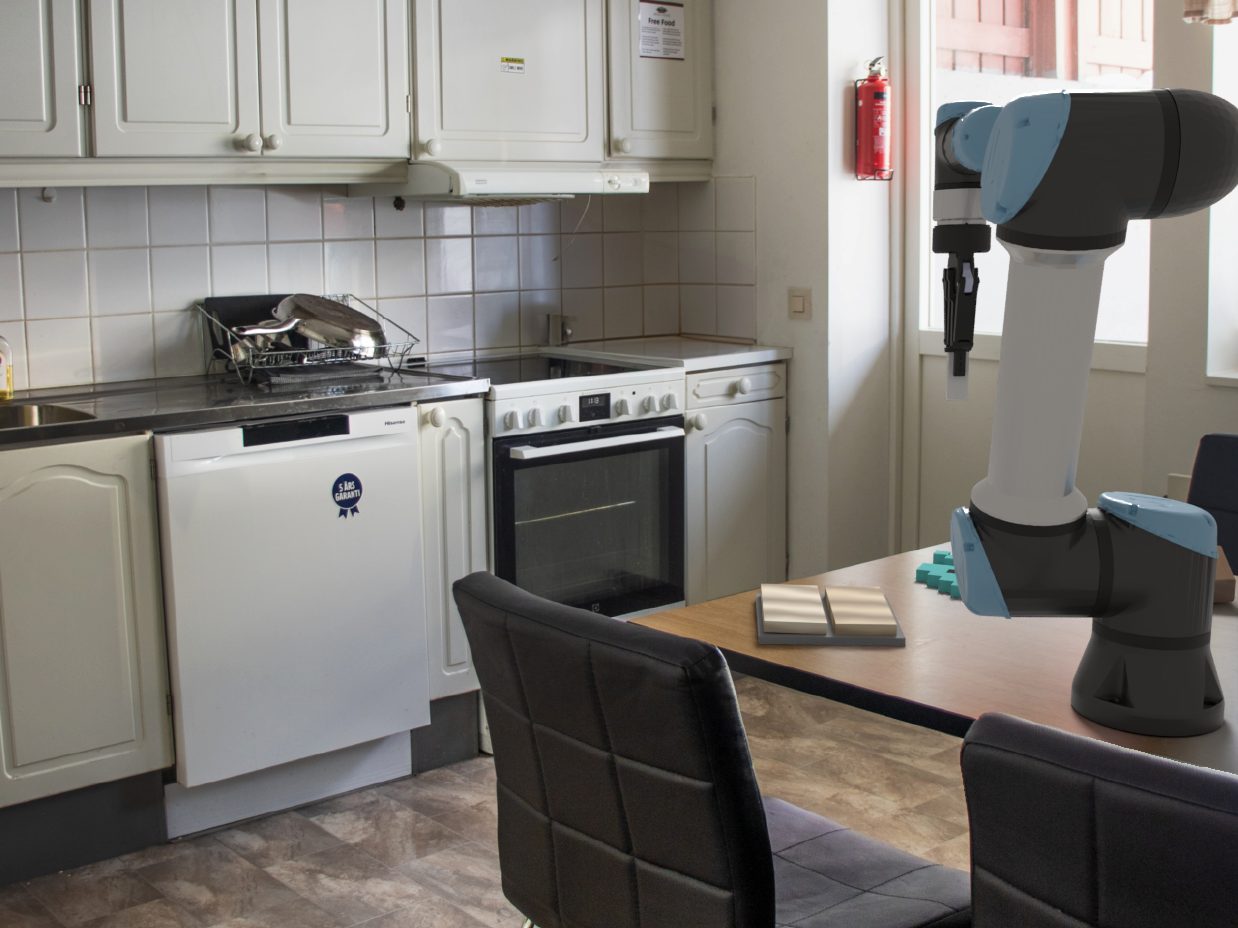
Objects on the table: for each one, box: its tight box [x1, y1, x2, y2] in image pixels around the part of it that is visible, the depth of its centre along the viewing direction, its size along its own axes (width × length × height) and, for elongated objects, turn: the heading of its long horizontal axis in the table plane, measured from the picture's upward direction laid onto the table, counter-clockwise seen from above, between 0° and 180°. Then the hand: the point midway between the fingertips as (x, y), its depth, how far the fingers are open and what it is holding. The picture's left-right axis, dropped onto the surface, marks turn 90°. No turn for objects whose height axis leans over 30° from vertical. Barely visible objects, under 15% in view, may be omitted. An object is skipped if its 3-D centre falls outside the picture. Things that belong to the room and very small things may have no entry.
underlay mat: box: [755, 593, 907, 647], centre depth 162 cm, size 20×18×1 cm
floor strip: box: [824, 585, 897, 636], centre depth 162 cm, size 18×8×2 cm, turn 175°
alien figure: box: [915, 550, 962, 599], centre depth 181 cm, size 20×2×20 cm
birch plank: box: [760, 583, 827, 634], centre depth 163 cm, size 18×8×2 cm, turn 175°
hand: (956, 399), depth 163 cm, fingers closed
